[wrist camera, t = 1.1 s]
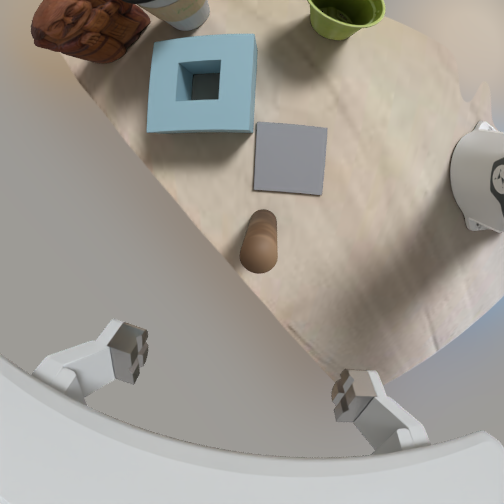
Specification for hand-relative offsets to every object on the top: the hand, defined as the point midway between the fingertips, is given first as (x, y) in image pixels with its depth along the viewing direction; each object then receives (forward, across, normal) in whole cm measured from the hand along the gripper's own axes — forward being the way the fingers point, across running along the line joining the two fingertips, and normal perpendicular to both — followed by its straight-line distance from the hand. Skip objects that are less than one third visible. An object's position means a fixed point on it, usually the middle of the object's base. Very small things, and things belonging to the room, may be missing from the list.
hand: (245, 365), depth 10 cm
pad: (+28, -2, -8) cm, 29 cm away
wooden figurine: (+29, +27, -23) cm, 46 cm away
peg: (+28, -1, +2) cm, 28 cm away
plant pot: (+28, -4, -29) cm, 41 cm away
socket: (+28, +10, -15) cm, 33 cm away
